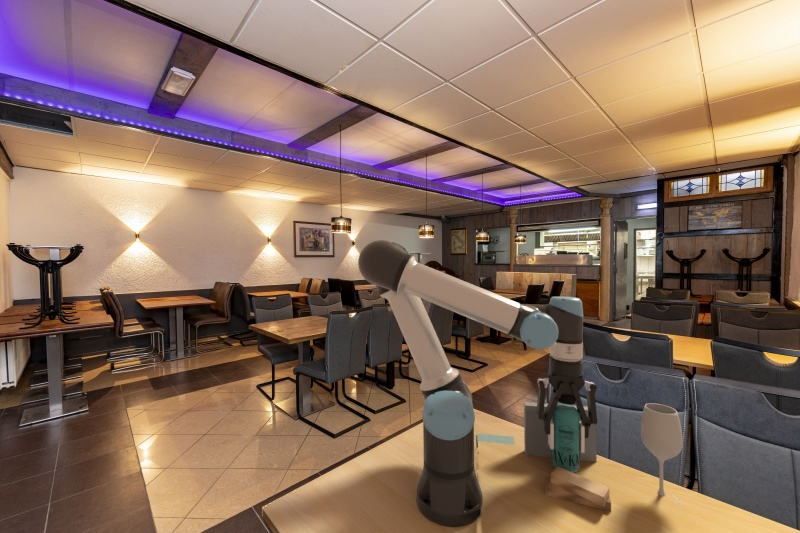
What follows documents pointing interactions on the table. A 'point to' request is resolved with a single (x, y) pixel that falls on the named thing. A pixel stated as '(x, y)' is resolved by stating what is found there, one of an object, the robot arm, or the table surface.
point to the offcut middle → (571, 495)
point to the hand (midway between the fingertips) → (565, 447)
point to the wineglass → (661, 435)
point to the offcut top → (580, 486)
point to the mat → (495, 439)
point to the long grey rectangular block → (539, 439)
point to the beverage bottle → (566, 435)
